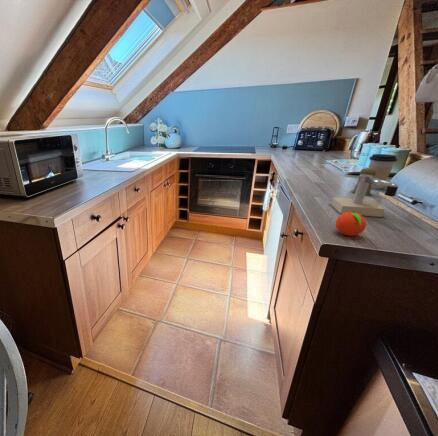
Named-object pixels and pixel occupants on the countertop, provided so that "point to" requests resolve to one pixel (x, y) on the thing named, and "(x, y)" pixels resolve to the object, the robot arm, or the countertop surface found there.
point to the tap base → (358, 203)
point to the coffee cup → (381, 166)
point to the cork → (368, 172)
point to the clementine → (350, 223)
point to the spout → (380, 184)
